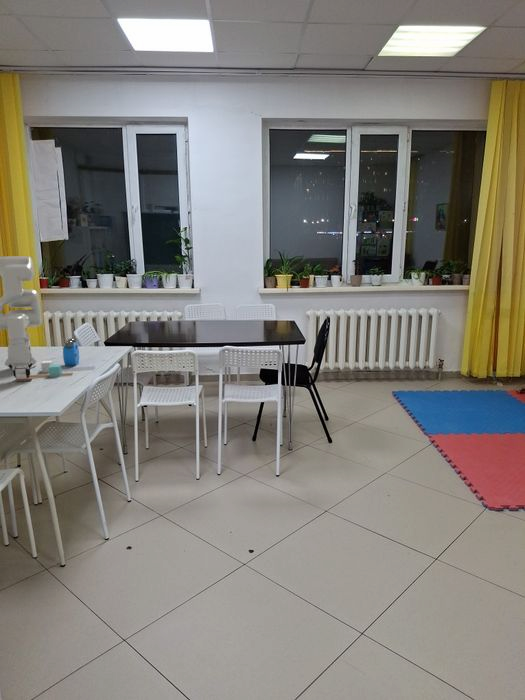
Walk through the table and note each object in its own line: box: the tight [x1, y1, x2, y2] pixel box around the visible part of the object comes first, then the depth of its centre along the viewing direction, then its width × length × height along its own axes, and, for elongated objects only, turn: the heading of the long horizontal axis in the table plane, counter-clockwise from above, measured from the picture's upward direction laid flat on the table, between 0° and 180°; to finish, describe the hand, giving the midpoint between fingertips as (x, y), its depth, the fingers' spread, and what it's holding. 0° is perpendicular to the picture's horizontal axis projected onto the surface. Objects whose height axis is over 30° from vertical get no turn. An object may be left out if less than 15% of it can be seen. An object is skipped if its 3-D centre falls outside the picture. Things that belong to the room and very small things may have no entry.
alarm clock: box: [62, 338, 80, 367], centre depth 257 cm, size 13×6×15 cm, turn 12°
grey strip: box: [40, 360, 96, 374], centre depth 246 cm, size 7×26×6 cm, turn 104°
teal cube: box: [48, 364, 63, 378], centre depth 235 cm, size 5×5×5 cm
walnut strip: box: [14, 366, 75, 383], centre depth 234 cm, size 7×26×6 cm, turn 104°
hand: (22, 376), depth 232 cm, fingers closed on walnut strip, 4 cm apart
